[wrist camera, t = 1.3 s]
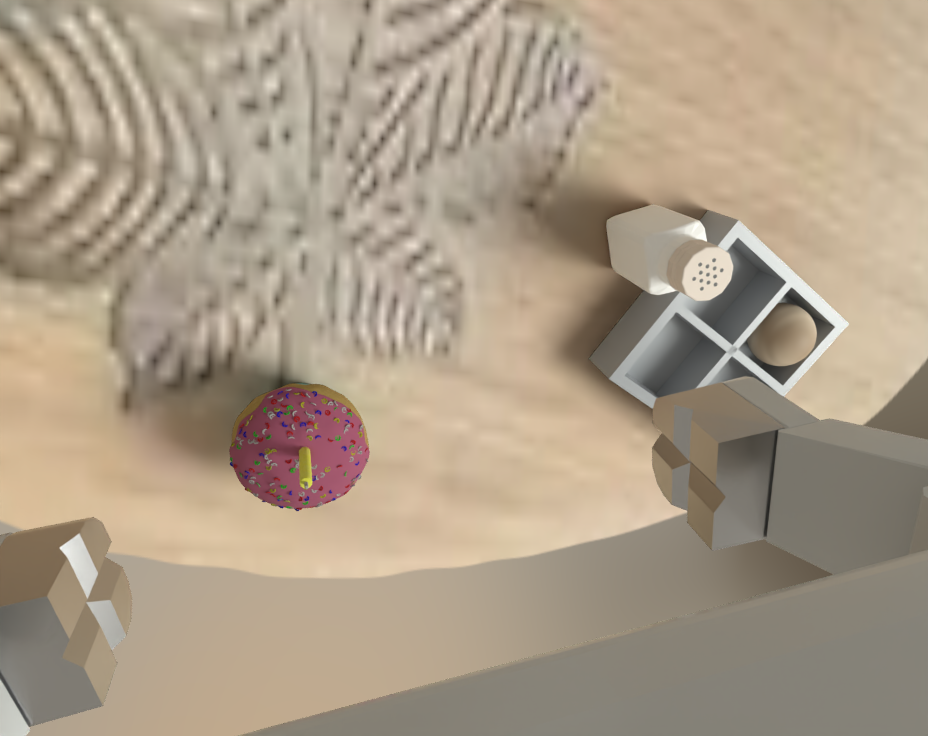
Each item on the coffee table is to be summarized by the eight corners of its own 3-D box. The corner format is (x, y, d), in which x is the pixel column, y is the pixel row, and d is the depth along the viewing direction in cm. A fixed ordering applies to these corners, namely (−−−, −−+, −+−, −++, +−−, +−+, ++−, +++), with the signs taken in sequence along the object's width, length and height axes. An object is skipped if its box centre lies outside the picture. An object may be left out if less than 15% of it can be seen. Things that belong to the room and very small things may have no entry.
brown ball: (763, 283, 48) (806, 302, 44) (799, 315, 50) (843, 336, 46) (721, 332, 49) (759, 356, 45) (758, 362, 51) (798, 387, 47)
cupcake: (244, 349, 42) (223, 443, 31) (374, 366, 45) (395, 458, 34) (231, 462, 45) (207, 582, 34) (353, 472, 48) (366, 587, 37)
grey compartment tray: (708, 209, 45) (738, 220, 42) (814, 308, 50) (849, 323, 47) (588, 358, 48) (608, 379, 45) (701, 436, 53) (726, 459, 50)
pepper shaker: (656, 200, 44) (739, 230, 36) (661, 256, 46) (741, 296, 37) (601, 216, 44) (672, 250, 35) (609, 272, 45) (678, 317, 37)
